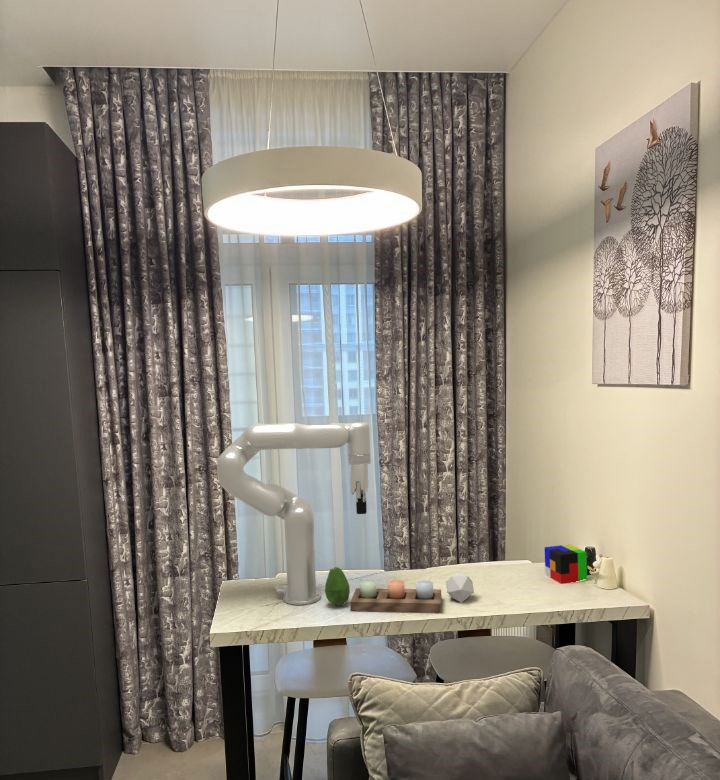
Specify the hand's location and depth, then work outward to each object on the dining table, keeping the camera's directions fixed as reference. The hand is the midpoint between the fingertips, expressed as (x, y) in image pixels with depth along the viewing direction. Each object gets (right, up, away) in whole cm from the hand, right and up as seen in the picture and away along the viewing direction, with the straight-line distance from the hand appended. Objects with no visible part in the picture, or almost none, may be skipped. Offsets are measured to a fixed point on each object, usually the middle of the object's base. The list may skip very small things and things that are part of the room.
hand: (361, 513), depth 199 cm
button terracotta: (+11, -24, -11) cm, 29 cm away
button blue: (+20, -24, -13) cm, 33 cm away
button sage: (+2, -24, -10) cm, 26 cm away
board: (+11, -27, -11) cm, 31 cm away
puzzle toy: (+72, -25, +8) cm, 76 cm away
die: (+32, -26, -8) cm, 42 cm away
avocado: (-8, -28, -9) cm, 30 cm away
